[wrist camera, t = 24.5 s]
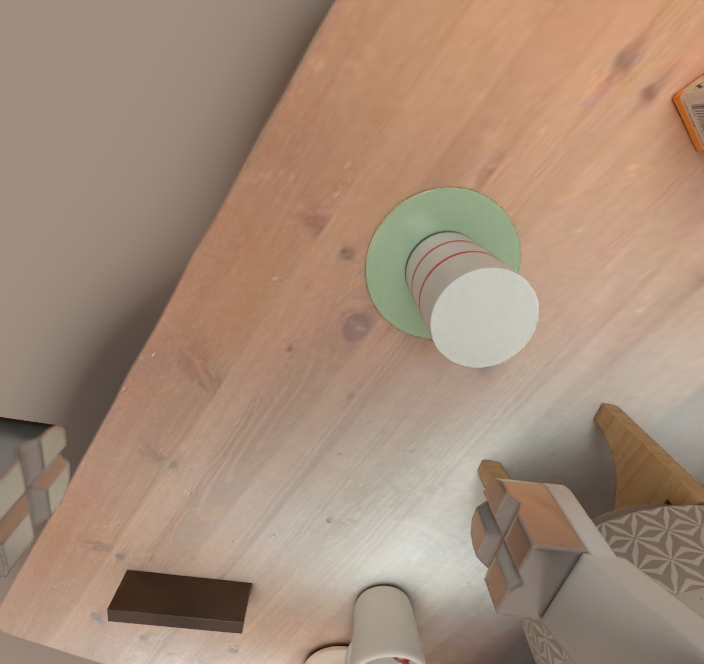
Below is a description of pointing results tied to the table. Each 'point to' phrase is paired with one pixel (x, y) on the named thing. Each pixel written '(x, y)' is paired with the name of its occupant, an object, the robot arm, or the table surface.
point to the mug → (329, 656)
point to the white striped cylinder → (470, 300)
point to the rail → (180, 602)
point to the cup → (384, 629)
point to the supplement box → (693, 110)
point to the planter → (639, 521)
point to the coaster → (419, 222)
